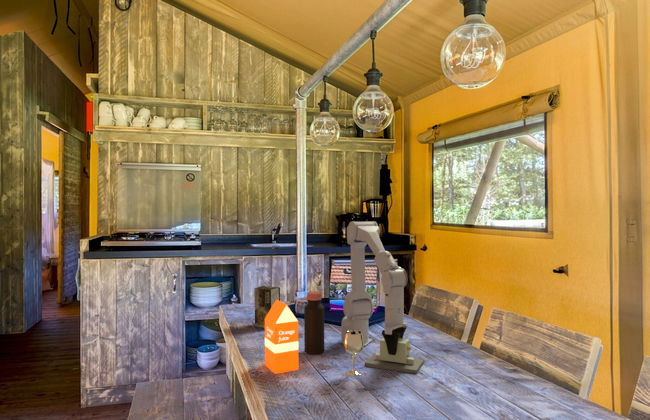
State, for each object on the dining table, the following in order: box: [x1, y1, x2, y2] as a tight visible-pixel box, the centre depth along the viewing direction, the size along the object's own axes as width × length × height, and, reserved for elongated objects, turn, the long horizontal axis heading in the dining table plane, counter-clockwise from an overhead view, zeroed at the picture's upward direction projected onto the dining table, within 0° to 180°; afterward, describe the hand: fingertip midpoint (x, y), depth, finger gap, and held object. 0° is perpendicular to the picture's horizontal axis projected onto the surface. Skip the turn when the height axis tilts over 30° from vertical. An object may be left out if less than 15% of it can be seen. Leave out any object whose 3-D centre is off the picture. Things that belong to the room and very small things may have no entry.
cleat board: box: [364, 352, 425, 374], centre depth 137 cm, size 16×10×2 cm, turn 66°
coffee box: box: [253, 285, 281, 329], centre depth 182 cm, size 9×6×16 cm
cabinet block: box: [379, 336, 412, 364], centre depth 136 cm, size 9×5×6 cm, turn 65°
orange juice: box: [264, 299, 299, 375], centre depth 135 cm, size 8×9×20 cm
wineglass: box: [343, 330, 364, 377], centre depth 129 cm, size 6×6×12 cm
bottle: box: [303, 290, 325, 356], centre depth 149 cm, size 7×7×20 cm
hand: (394, 351), depth 137 cm, fingers closed on cabinet block, 5 cm apart
